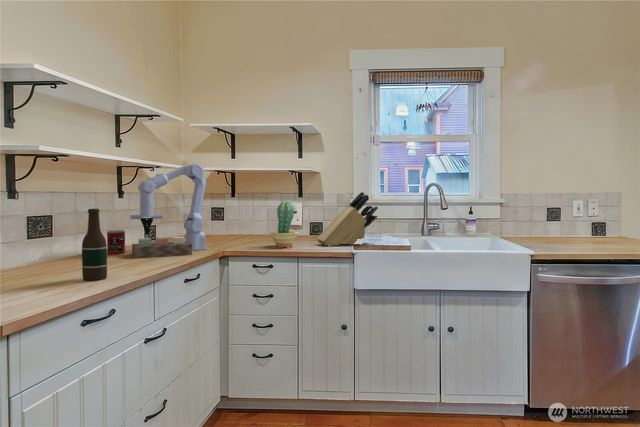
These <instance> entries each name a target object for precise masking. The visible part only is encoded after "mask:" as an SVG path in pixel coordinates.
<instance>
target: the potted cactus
mask: <svg viewBox="0 0 640 427" xmlns="http://www.w3.org/2000/svg"><path fill="white" fill-rule="evenodd" d="M295 210H296V208H295V206H294V205H293V204H292V203H291V202H290V201H281V202H280V203H279V205H278V206H277V209H276V212H277V220H278V223H277V224H278V225H277V231H270V236H271V237H272V240H273V242H274V243H275V247H276V246H278V247H277V248H279V247H289V246H292V247H293V244H294V242H296V241H295V240H296V238H297V236H299V232H298V231H290V230H291V224H292V221H293V218H294V217H295V216H294V214H295ZM289 248H290V247H289Z"/></svg>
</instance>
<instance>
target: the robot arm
mask: <svg viewBox="0 0 640 427" xmlns="http://www.w3.org/2000/svg"><path fill="white" fill-rule="evenodd" d="M204 172H205V170H204V168H203V167H202V166H201V164H199V163H192V164H187V165H183V166H180V167H178V168H176V169H174V170H171V171H169V172H168V173H166V174H164V173H156V174H155V176H153V177H148V178H147V180H143V181H140V183H138V187H137V189H138V191H139V193H140V194H139V210H140V211H139V212H140V213H139V214H131V215H130V214H129V220H140V223H141V224H142V226H143V229H144V233H145V235H149V233H150V228H151V226H152V224H153V222H154V219H155V220H161V219H162V220H163V219H164V215H163V214H154V191H155V190H158V189H159V188H161V187H164V186H166V185H167V184H168V183H169V181H170V180H173V179H176V178H178V177H180V176H186V177H187V178H189V179H191V181H192V183H194V186H193V187H194V188H193V193H192V199H191V205H190V211H189V213H188V214H187V216H186V219H185V221H184V223H183V228H184V229H185V241H187V242H188V243H190V244H192V251H198V250H199V251H202V250H203V251H205V250H207V248H206V234H205V232H204V231H202V229H203V217H202V214H201V213H202V208H203V202H204V197H205V191H206V184H207V180H206V177H205V173H204ZM201 231H202V232H201Z"/></svg>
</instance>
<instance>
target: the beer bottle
mask: <svg viewBox="0 0 640 427" xmlns="http://www.w3.org/2000/svg"><path fill="white" fill-rule="evenodd" d="M87 213H88V217H87V218H88V221H87V222H88V223H87V232H86V233H85V236H84V237H83V240H82V242H81V261H82V262H81V263H82V264H81V265H82V266H81V267H82V268H81V269H82V270H81V271H82V280H83V281H85V282H95V281H96V282H97V281H99V282H100V281H103V280H106V279H107V277H108V256H107V254H108V252H107V238H106V237H105V235H104V234H103V233H102V230H101V223H100V208H88V209H87Z"/></svg>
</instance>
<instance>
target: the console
mask: <svg viewBox="0 0 640 427" xmlns="http://www.w3.org/2000/svg"><path fill="white" fill-rule="evenodd" d="M131 247H132V248H131V255H132V257H133V259H146V258H147V259H148V258H160V257H161V258H163V257H177V256H178V257H179V256H180V255H181V256H193V250H192V244H190V243H188V242H187V241H186V240H185V244H172V241H171V242H169V241H168V245H156V242H151V246H149V245H146V246H139V243H132V244H131Z"/></svg>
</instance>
